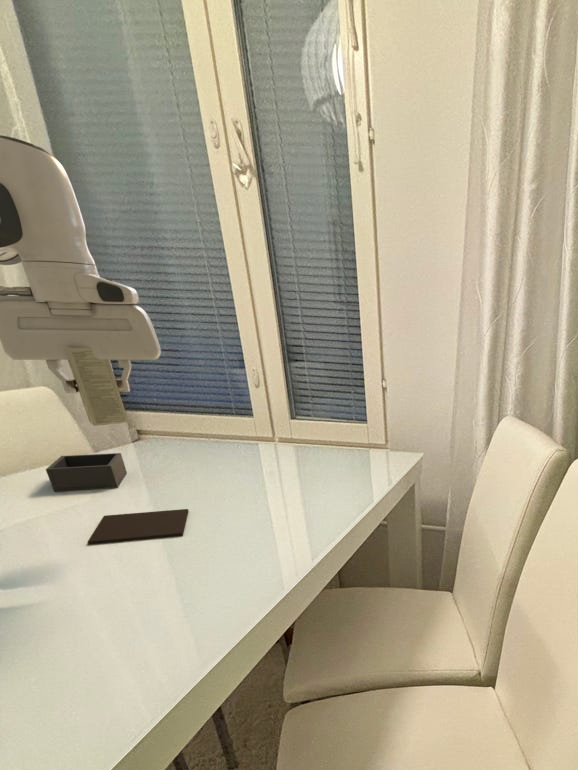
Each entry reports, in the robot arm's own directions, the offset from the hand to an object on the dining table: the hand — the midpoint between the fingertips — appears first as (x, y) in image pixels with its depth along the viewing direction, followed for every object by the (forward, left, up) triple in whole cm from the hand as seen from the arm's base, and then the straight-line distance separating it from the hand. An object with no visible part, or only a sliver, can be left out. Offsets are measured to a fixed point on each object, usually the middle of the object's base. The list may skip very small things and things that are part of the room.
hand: (99, 391), depth 86 cm
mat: (+1, -1, -22) cm, 22 cm away
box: (0, 0, -5) cm, 5 cm away
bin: (-13, +34, -22) cm, 43 cm away
